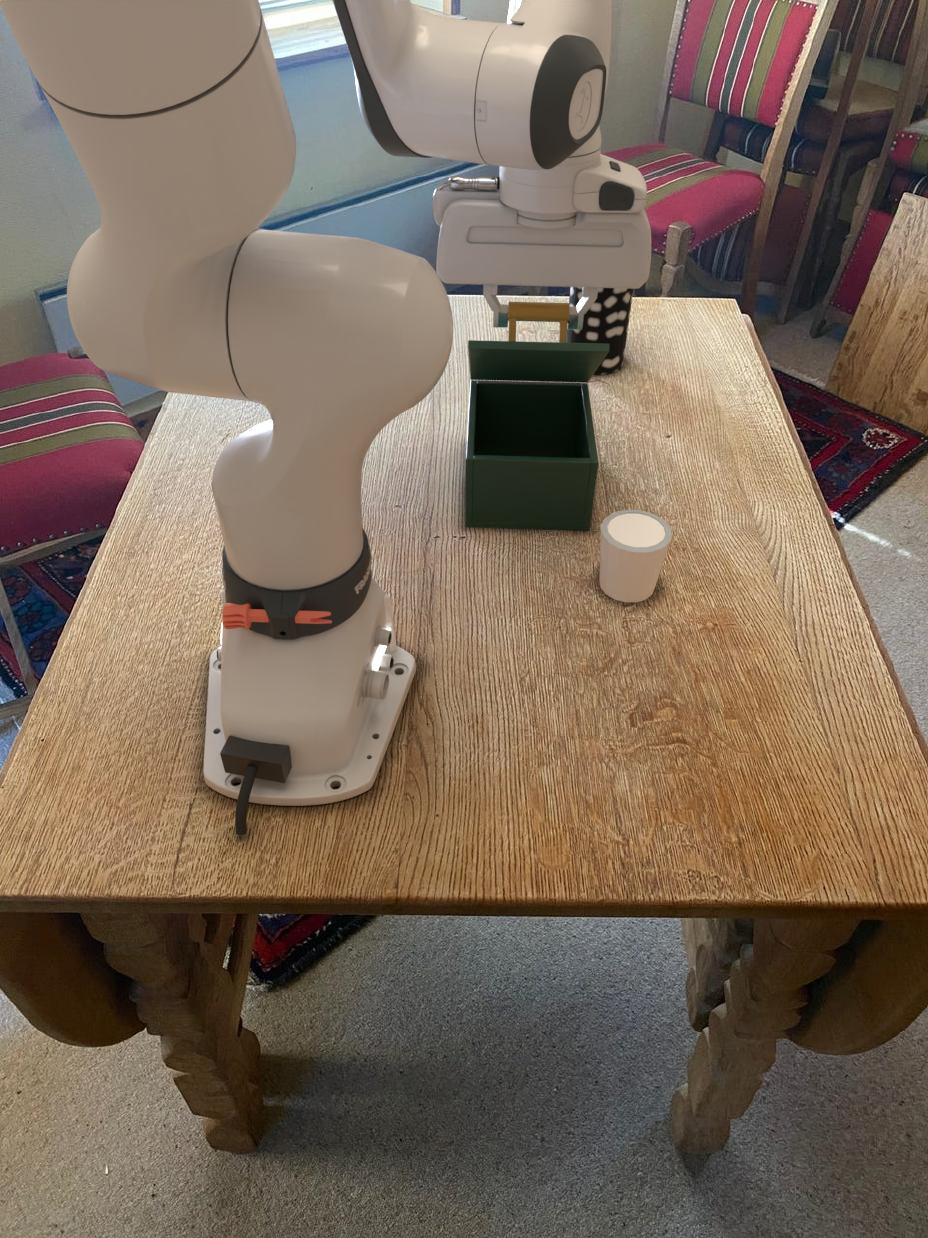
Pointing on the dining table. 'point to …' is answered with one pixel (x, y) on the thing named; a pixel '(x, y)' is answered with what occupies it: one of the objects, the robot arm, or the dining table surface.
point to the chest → (530, 456)
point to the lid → (535, 351)
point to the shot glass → (632, 554)
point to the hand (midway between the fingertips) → (537, 326)
